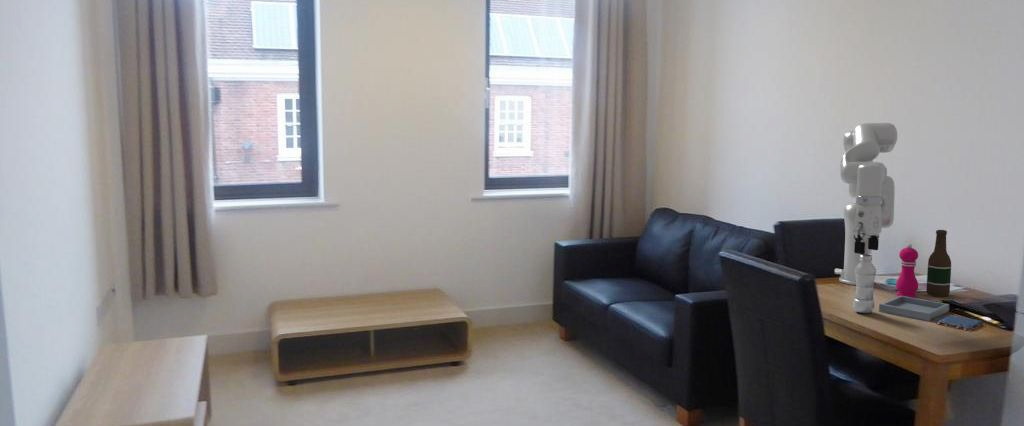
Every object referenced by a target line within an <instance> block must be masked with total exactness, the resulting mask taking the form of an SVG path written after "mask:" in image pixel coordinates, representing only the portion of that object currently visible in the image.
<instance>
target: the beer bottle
mask: <svg viewBox="0 0 1024 426" xmlns="http://www.w3.org/2000/svg"><path fill="white" fill-rule="evenodd" d="M935 234H936V236H935V244H934V249H933V252H932V253H931V254H930V256H929V257H928V261H927V275H926V294H927V296H931V297H936V298H946V297H949V296H950V291H951V290H950V289H951V277H952V260H951V257H950V255H949V254H948V251H947V234H948V231H947V230H946V229H945V230H944V229H937V230H936V231H935Z"/></svg>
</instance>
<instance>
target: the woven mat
mask: <svg viewBox="0 0 1024 426" xmlns="http://www.w3.org/2000/svg"><path fill="white" fill-rule="evenodd" d="M935 321H936V322H935V323H936V324H937V326H938V325H939V326H940V325H941V326H944V327H949V328H952V329H957V330H964V331H967V332H971V331H973V330H976V329H977V328H980V327H981V326H983V325H984V324H985V323H984V322H983V320H979V319H975V318H969V317H963V316H960V315H959V316H958V315H954V314H951V315H950V314H947V315H945V316H943V317H940V318H938V319H936V320H935Z"/></svg>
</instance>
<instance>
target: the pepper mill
mask: <svg viewBox="0 0 1024 426" xmlns="http://www.w3.org/2000/svg"><path fill="white" fill-rule="evenodd" d="M912 247H913V245H912V243H907V244H906V247H904V248H902V249H901V250H900V251H899V258H900V259H901V260H900V265H901V271H900V275H899V277H898V278H897V280H896V281H895V282H896V283H895V287H896V289H897V291H896V297H898V296H906V297H911V298H917V293H916V292H917V291H918V290H919V283H918V279H917V277H916V274H915V267H916V266H917V260H918V258H919V252H918V251H917V250H916V249H915V248H912Z"/></svg>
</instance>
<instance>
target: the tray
mask: <svg viewBox="0 0 1024 426" xmlns="http://www.w3.org/2000/svg"><path fill="white" fill-rule="evenodd" d="M949 311H950V304H949V303H944V302H938V301H934V300H933V301H932V300H927V299H921V298H917V297H916V298H911V297H906V296H898V297H897V296H895V297H893V298H891V299H888V300H886V301H884V302H881V303H879V306H878V312H879V313H880V312H881V313H886V314H890V315H896V316H900V317H907V318H911V319H917V320H922V321H926V322H931V321H934V320H935V319H937V318H939V317H940V316H942V315H944V314H946V313H949Z"/></svg>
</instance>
